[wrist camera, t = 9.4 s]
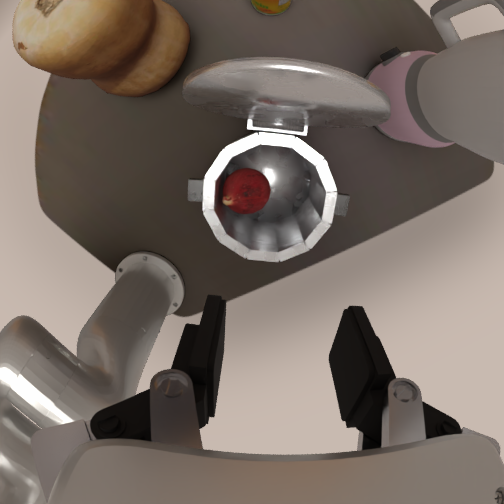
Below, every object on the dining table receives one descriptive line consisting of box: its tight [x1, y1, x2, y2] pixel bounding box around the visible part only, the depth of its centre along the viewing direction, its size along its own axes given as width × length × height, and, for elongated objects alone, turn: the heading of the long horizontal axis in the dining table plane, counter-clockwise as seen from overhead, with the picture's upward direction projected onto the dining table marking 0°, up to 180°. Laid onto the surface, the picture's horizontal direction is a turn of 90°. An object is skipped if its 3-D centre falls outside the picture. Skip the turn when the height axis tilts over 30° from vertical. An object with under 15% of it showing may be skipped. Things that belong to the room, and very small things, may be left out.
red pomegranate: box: [222, 168, 271, 215], centre depth 36 cm, size 6×6×8 cm
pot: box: [188, 119, 350, 262], centre depth 35 cm, size 16×18×11 cm
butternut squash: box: [13, 0, 190, 97], centre depth 21 cm, size 14×13×25 cm
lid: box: [182, 57, 391, 132], centre depth 19 cm, size 16×15×2 cm
